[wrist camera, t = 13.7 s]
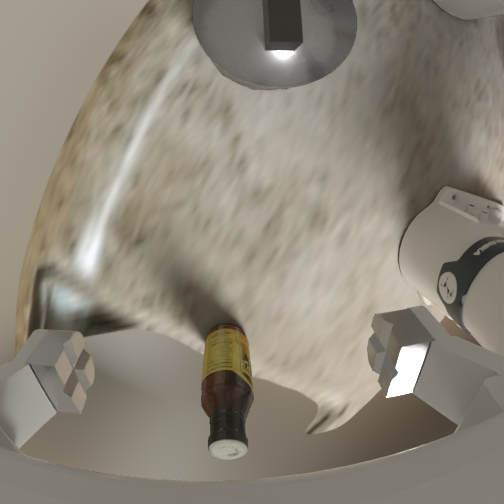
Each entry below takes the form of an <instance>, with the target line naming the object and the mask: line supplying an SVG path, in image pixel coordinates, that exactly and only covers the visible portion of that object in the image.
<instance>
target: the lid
mask: <svg viewBox="0 0 504 504" xmlns="http://www.w3.org/2000/svg"><path fill="white" fill-rule="evenodd" d="M192 17H193V25H194V29H195V33H196V36H197V38H198V40H199V42H200V45H201V46H202V48H203V49H204V51H205V53H206V54H207V55H208V56H209V57H210V59H211V60H212V61H213V62H214V63H215V64H216V65H218V66H219V67H220V68H221V69H223V70H224V71H225V72H227V73H228V74H230V75H232V76H234V77H236V78H237V79H240V80H242V81H245V82H247V83H250V84H254V85H257V86H263V87H269V88H291V87H297V86H302V85H305V84H309V83H312V82H314V81H316V80H319V79H321V78H323V77H325V76H326V75H328V74H330V73H331V72H332V71H334V70H335V69H336V68H337V67H338V66H339V65H340V64H341V63H342V62H343V61H344V60H345V59H346V57H347V56H348V54H349V53H350V51H351V48H352V46H353V44H354V41H355V37H356V32H357V16H356V11H355V7H354V4H353V1H352V0H194V3H193V12H192Z"/></svg>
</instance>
